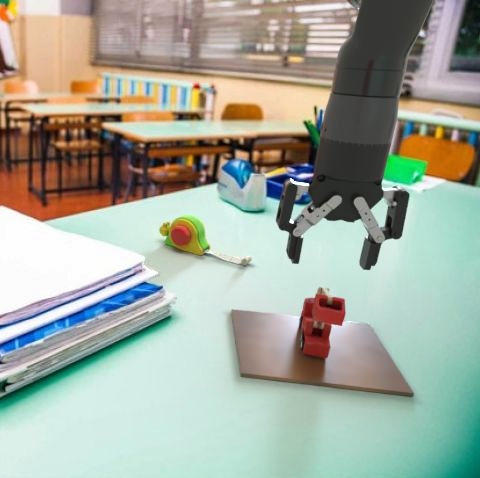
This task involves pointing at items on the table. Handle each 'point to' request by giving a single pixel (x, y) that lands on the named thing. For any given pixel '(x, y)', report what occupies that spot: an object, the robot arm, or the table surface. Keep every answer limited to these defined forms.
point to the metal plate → (312, 367)
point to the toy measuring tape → (193, 238)
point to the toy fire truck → (320, 322)
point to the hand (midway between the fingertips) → (329, 264)
